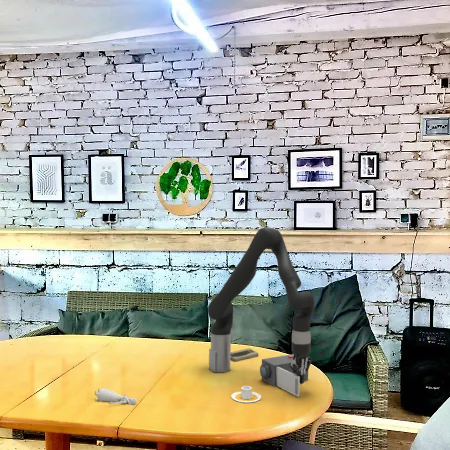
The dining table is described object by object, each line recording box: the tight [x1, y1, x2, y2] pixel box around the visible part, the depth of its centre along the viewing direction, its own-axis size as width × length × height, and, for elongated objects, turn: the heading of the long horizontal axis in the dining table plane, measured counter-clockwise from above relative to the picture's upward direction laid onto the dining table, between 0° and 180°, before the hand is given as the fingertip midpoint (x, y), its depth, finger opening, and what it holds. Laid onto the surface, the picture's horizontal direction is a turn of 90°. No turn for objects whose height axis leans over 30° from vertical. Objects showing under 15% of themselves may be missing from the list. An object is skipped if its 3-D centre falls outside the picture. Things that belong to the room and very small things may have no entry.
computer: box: [230, 347, 259, 363], centre depth 256 cm, size 16×8×3 cm, turn 128°
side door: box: [275, 366, 301, 397], centre depth 208 cm, size 15×2×8 cm, turn 31°
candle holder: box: [231, 385, 262, 403], centre depth 202 cm, size 12×12×4 cm
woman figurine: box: [94, 387, 137, 406], centre depth 197 cm, size 12×4×18 cm
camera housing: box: [259, 353, 309, 387], centre depth 222 cm, size 20×10×10 cm, turn 119°
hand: (300, 382), depth 206 cm, fingers closed
